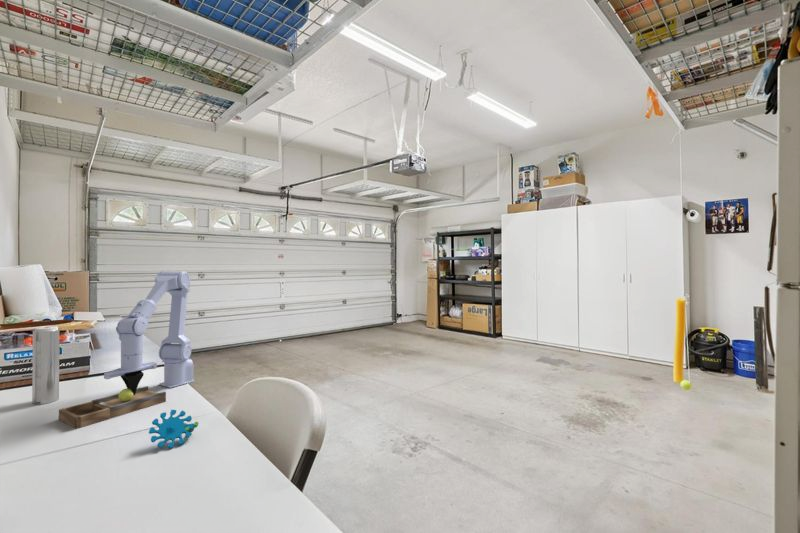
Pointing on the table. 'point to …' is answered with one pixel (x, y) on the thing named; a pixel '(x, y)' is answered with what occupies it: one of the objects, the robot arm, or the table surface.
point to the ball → (125, 395)
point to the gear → (172, 428)
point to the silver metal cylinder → (45, 365)
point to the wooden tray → (108, 407)
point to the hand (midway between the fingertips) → (131, 395)
